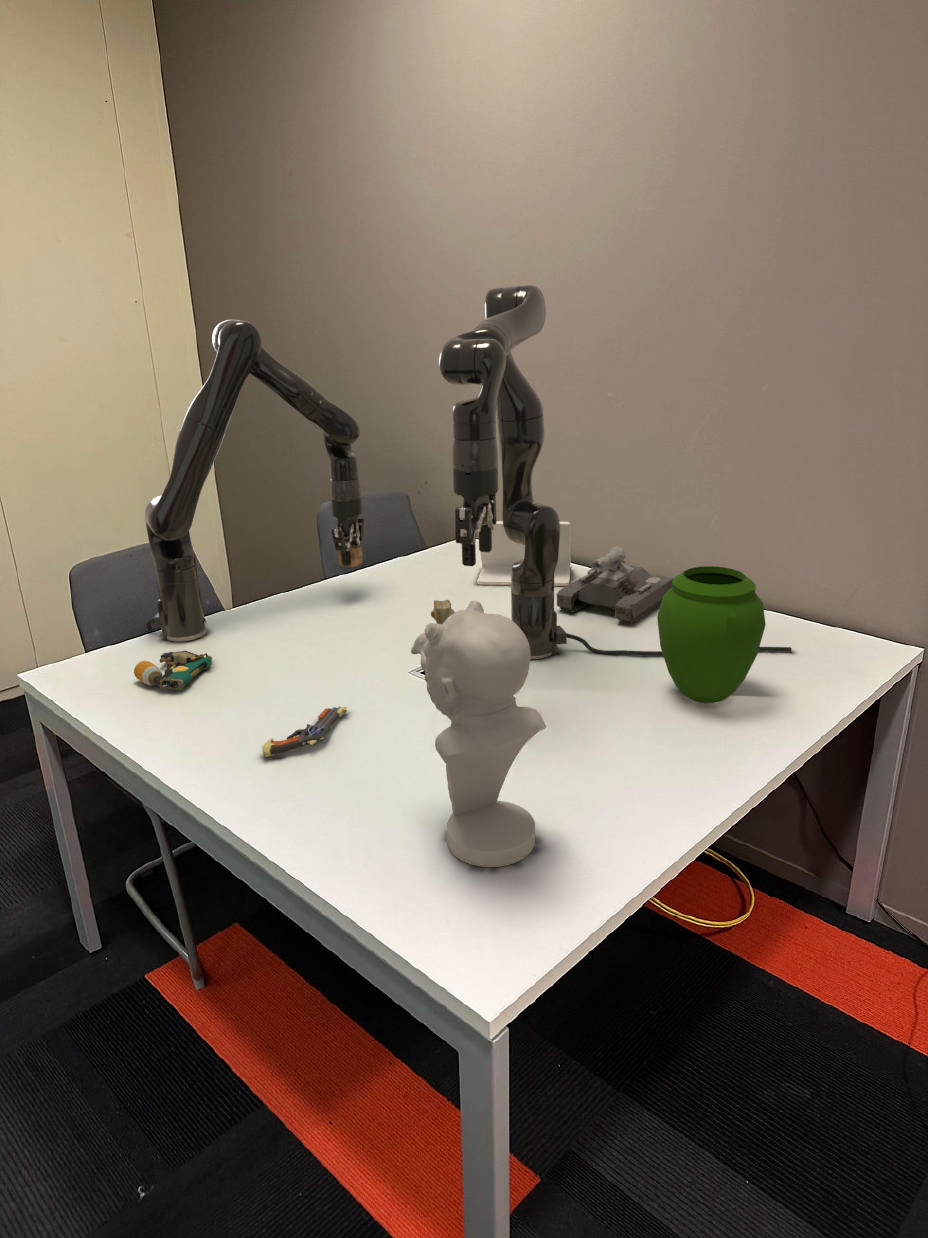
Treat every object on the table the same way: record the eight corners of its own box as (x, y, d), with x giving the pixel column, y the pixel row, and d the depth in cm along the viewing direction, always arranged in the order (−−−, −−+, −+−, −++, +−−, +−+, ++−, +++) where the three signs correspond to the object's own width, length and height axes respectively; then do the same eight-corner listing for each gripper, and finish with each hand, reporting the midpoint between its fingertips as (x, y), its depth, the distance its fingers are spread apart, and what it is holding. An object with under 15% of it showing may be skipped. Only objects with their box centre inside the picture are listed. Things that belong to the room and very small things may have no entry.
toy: (603, 584, 229) (605, 530, 224) (673, 597, 218) (677, 540, 213) (555, 612, 210) (556, 553, 205) (630, 627, 199) (633, 566, 194)
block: (346, 560, 221) (345, 544, 220) (362, 562, 220) (361, 545, 218) (338, 565, 218) (337, 548, 216) (355, 566, 216) (354, 549, 215)
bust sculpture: (481, 772, 140) (476, 569, 128) (565, 848, 120) (569, 617, 108) (392, 800, 134) (378, 588, 121) (465, 886, 114) (457, 642, 101)
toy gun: (257, 746, 146) (311, 744, 144) (298, 704, 164) (347, 701, 161) (260, 761, 146) (314, 759, 144) (300, 717, 164) (349, 715, 162)
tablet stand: (569, 585, 229) (570, 524, 223) (476, 584, 232) (475, 523, 226) (570, 566, 246) (571, 508, 240) (484, 564, 249) (483, 507, 243)
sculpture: (458, 662, 183) (456, 596, 178) (460, 676, 176) (457, 608, 171) (431, 663, 183) (428, 597, 177) (431, 677, 176) (428, 609, 171)
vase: (769, 686, 168) (782, 568, 159) (741, 727, 152) (753, 599, 144) (673, 667, 178) (680, 554, 169) (637, 703, 162) (643, 582, 154)
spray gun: (177, 659, 191) (231, 671, 185) (120, 684, 176) (176, 698, 171) (176, 641, 190) (230, 653, 184) (118, 665, 175) (174, 678, 169)
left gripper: (345, 489, 220) (350, 553, 226) (318, 501, 207) (324, 569, 213) (371, 491, 218) (375, 555, 224) (346, 503, 205) (351, 571, 211)
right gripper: (468, 456, 150) (471, 546, 155) (438, 472, 137) (442, 568, 143) (509, 458, 147) (510, 548, 153) (482, 474, 135) (484, 572, 140)
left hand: (350, 561), depth 219 cm, fingers closed on block, 4 cm apart
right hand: (477, 558), depth 148 cm, fingers open, 8 cm apart
